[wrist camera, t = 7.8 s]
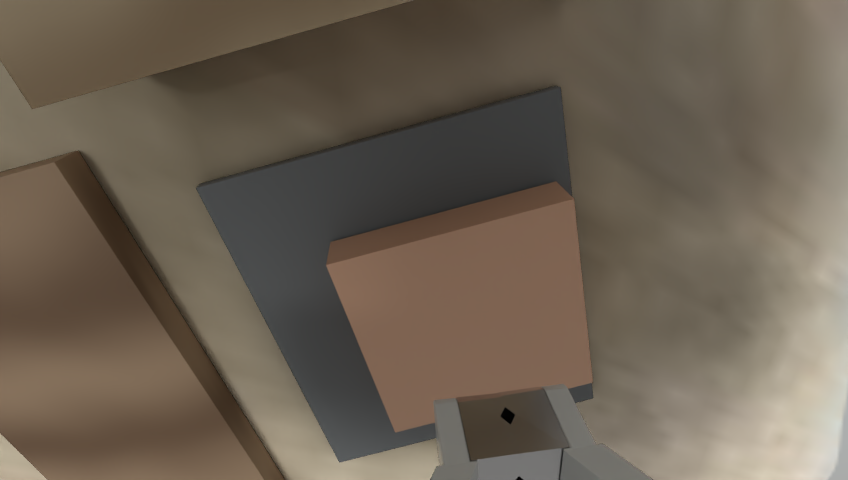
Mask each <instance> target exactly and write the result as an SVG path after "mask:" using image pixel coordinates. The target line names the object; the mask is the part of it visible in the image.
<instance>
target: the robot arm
mask: <svg viewBox="0 0 848 480" xmlns="http://www.w3.org/2000/svg"><path fill="white" fill-rule="evenodd" d="M433 404H434V417H435V429H436V440H437V450H438V459H439V466H437V467H436V469H435V471H434V473H433V475H432V477H431V479H430V480H653V479H652V478H650V477H649V476H647V475H646V474H645V473H643V472H642V471H640V470H639V469H638V468H636V467H635V466H633V465H632V464H631V463H629V462H628V461H626V460H625V459H624V458H622V457H621V456H619V455H618V454H617V453H615V452H614V451H612V450H611V449H610V448H608V447H607V446H605V445H604V444H596V443H595V441H594V439H593V437H592V435H591V433H590V431H589V429H588V427H587V425H586V423H585V421H584V419H583V417H582V415H581V413H580V412H579V410H578V408H577V406H576V404H575V402H574V400H573V398H572V396H571V394H570V392H569V390H568V388H567V387H566V386H565V385H564V384H557V385H550V386H542V387H533V388H526V389H519V390H512V391H505V392H498V393H494V394H484V395H474V396H465V397H456V398H448V399H439V400H434V402H433Z"/></svg>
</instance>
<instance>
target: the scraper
mask: <svg viewBox="0 0 848 480" xmlns="http://www.w3.org/2000/svg"><path fill="white" fill-rule="evenodd" d="M410 1H413V0H0V60H1V62H2V63H3V65H4V66H5V68H6V70H7V71H8V73H9V74H10V76H11V77H12V79H13V80H14V82H15V83H16V85H17V86H18V88H19V90H20V91H21V93H22V94H23V96H24V97H25V99H26V100H27V102H28V103H29V105H30V107H31V108H32V109H34V108H38V107H41V106H45V105H48V104H52V103H55V102H59V101H62V100H66V99H69V98H73V97H76V96H80V95H83V94H87V93H90V92H94V91H97V90H101V89H104V88H108V87H111V86H115V85H118V84H122V83H125V82H129V81H133V80H136V79H140V78H143V77H147V76H150V75H154V74H157V73H161V72H164V71H168V70H171V69H175V68H178V67H182V66H185V65H189V64H192V63H196V62H199V61H203V60H206V59H210V58H213V57H217V56H220V55H224V54H227V53H231V52H234V51H238V50H241V49H245V48H248V47H252V46H255V45H259V44H262V43H266V42H269V41H273V40H276V39H280V38H283V37H287V36H290V35H294V34H297V33H301V32H304V31H308V30H311V29H315V28H318V27H322V26H325V25H329V24H332V23H336V22H339V21H343V20H347V19H350V18H354V17H357V16H361V15H364V14H368V13H371V12H375V11H378V10H382V9H385V8H389V7H392V6H396V5H399V4H403V3H406V2H410Z"/></svg>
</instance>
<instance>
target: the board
mask: <svg viewBox="0 0 848 480" xmlns="http://www.w3.org/2000/svg"><path fill="white" fill-rule="evenodd" d="M0 433H1V434H2V435H3V436H4V437H5V438H6V439H7V440H8V441H9V442H10V443H11V444H12V445H13V446H14V447H15V448H16V449H17V450H18V451H19V452H20V453H21V454H22V455H23V456H24V457H25V458H26V459H27V460H28V461H29V462H30V463H31V464H32V465H33V466H34V467H35V468H36V469H37V470H38V471H39V472H40V473H41V474H42V475H43V476H44V477H45V478H46V479H47V480H285V479H284V478H283V476H282V474H281V473H280V471H279V470H278V468H277V466H276V465H275V463H274V462H273V460H272V459H271V457H270V455H269V454H268V452H267V451H266V449H265V447H264V446H263V444H262V443H261V441H260V439H259V438H258V436H257V435H256V433H255V431H254V430H253V428H252V427H251V425H250V423H249V422H248V420H247V419H246V417H245V416H244V414H243V412H242V411H241V409H240V408H239V406H238V404H237V403H236V401H235V400H234V398H233V396H232V395H231V393H230V392H229V390H228V388H227V387H226V385H225V384H224V382H223V380H222V379H221V377H220V376H219V374H218V373H217V371H216V369H215V368H214V366H213V365H212V363H211V361H210V360H209V358H208V357H207V355H206V353H205V352H204V350H203V349H202V347H201V345H200V344H199V342H198V341H197V339H196V337H195V336H194V334H193V333H192V331H191V329H190V328H189V326H188V325H187V323H186V322H185V320H184V318H183V317H182V315H181V314H180V312H179V310H178V309H177V307H176V306H175V304H174V302H173V301H172V299H171V298H170V296H169V294H168V293H167V291H166V290H165V288H164V286H163V285H162V283H161V282H160V280H159V279H158V277H157V275H156V274H155V272H154V271H153V269H152V267H151V266H150V264H149V263H148V261H147V259H146V258H145V256H144V255H143V253H142V251H141V250H140V248H139V247H138V245H137V243H136V242H135V240H134V239H133V237H132V236H131V234H130V232H129V231H128V229H127V228H126V226H125V224H124V223H123V221H122V220H121V218H120V216H119V215H118V213H117V212H116V210H115V208H114V207H113V205H112V204H111V202H110V200H109V199H108V197H107V196H106V194H105V192H104V191H103V189H102V188H101V186H100V185H99V183H98V181H97V180H96V178H95V177H94V175H93V173H92V172H91V170H90V169H89V167H88V165H87V164H86V162H85V161H84V159H83V157H82V156H81V154H80V153H79V151H75V152H71V153H68V154H64V155H60V156H57V157H53V158H50V159H46V160H43V161H39V162H36V163H32V164H28V165H25V166H21V167H18V168H14V169H11V170H7V171H4V172H0Z"/></svg>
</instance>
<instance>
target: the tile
mask: <svg viewBox="0 0 848 480" xmlns="http://www.w3.org/2000/svg"><path fill="white" fill-rule="evenodd" d="M326 266H327V269H328V271H329V274H330V276H331V278H332V281H333V283H334V286H335V288H336V291H337V293H338V295H339V298H340V300H341V303H342V305H343V307H344V310H345V312H346V315H347V317H348V320H349V322H350V324H351V327H352V329H353V332H354V334H355V336H356V339H357V341H358V344H359V346H360V349H361V351H362V353H363V356H364V358H365V361H366V363H367V366H368V368H369V370H370V373H371V375H372V378H373V380H374V382H375V385H376V387H377V390H378V392H379V395H380V397H381V399H382V402H383V404H384V407H385V409H386V411H387V414H388V416H389V419H390V421H391V424H392V426H393V428H394V431H395V433H396V432H400V431H404V430H408V429H411V428H415V427H419V426H423V425H427V424H431V423H435V417H434V404H433V402H434V400H439V399H448V398H456V397H465V396H474V395H484V394H494V393H498V392H505V391H512V390H519V389H526V388H533V387H542V386H550V385H557V384H564V385H565V386H566V387H567V388H568V389H569V388H573V387H577V386H581V385H585V384H589V383H593V377H592V367H591V358H590V348H589V338H588V329H587V319H586V309H585V300H584V290H583V280H582V271H581V261H580V251H579V241H578V232H577V222H576V212H575V203H574V198H573V197H572V196H571V195H570V194H569V193H568V192H567V191H566V190H565V189H564V188H563V187H562V186H560V185H559V184H558V183H557V182H556V181H555V182H551V183H548V184H544V185H540V186H537V187H533V188H529V189H525V190H522V191H518V192H514V193H511V194H507V195H503V196H499V197H496V198H492V199H488V200H485V201H481V202H477V203H473V204H470V205H466V206H462V207H459V208H455V209H451V210H447V211H444V212H440V213H436V214H433V215H429V216H425V217H421V218H418V219H414V220H410V221H407V222H403V223H399V224H395V225H392V226H388V227H384V228H380V229H377V230H373V231H369V232H366V233H362V234H358V235H354V236H351V237H347V238H343V239H340V240H336V241H332V242H330V247H329V252H328V258H327V263H326Z"/></svg>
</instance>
